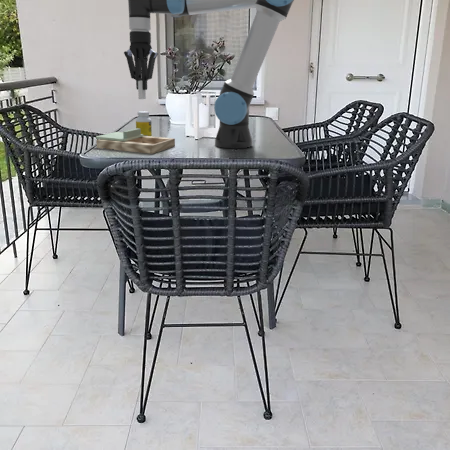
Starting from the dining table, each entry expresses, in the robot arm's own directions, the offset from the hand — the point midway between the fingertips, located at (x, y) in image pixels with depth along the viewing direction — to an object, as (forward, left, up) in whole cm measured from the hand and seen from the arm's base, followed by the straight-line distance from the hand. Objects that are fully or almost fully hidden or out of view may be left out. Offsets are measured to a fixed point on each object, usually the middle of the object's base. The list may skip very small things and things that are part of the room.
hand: (142, 98), depth 179 cm
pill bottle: (+9, -15, -19) cm, 26 cm away
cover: (+10, +1, -15) cm, 18 cm away
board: (+3, +1, -18) cm, 19 cm away
